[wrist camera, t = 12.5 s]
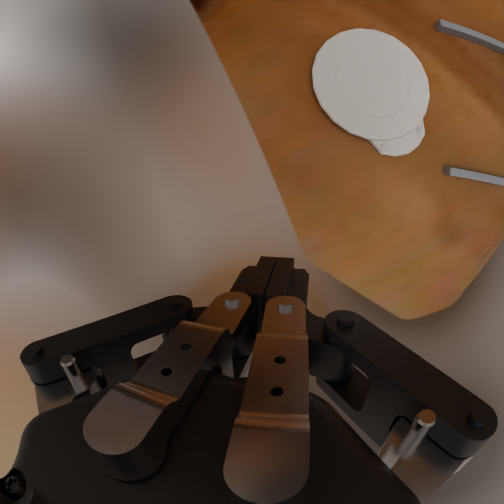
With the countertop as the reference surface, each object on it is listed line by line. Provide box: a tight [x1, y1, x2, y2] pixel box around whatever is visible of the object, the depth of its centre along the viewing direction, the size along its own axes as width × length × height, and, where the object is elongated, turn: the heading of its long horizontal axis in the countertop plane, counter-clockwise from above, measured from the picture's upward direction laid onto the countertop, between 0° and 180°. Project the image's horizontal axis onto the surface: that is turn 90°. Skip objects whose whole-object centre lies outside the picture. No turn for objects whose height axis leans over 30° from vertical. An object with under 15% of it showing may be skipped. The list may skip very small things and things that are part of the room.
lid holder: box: [435, 19, 504, 186], centre depth 28 cm, size 25×16×2 cm, turn 2°
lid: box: [312, 28, 430, 157], centre depth 33 cm, size 17×20×3 cm
